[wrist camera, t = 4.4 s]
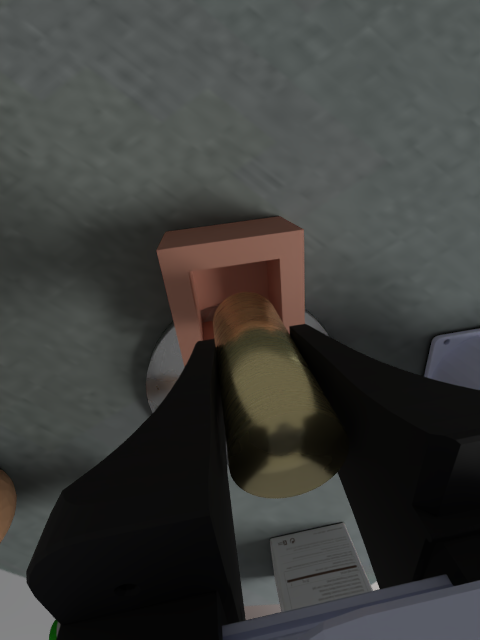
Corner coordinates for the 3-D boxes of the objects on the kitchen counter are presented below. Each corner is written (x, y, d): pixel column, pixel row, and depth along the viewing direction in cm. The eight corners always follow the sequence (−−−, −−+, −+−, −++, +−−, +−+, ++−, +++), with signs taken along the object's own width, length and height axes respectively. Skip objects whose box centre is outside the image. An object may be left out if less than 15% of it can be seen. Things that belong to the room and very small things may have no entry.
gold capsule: (278, 290, 13) (359, 406, 6) (274, 347, 14) (338, 490, 8) (211, 293, 12) (229, 417, 6) (213, 351, 13) (228, 504, 7)
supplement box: (342, 561, 38) (421, 770, 25) (273, 576, 37) (316, 799, 24) (346, 520, 34) (443, 746, 21) (268, 536, 33) (317, 780, 20)
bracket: (279, 216, 18) (303, 229, 14) (285, 353, 22) (305, 393, 18) (165, 231, 17) (156, 250, 13) (195, 369, 22) (195, 413, 18)
